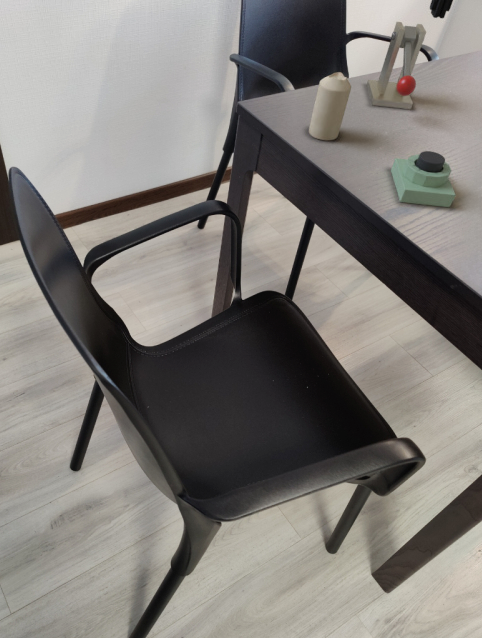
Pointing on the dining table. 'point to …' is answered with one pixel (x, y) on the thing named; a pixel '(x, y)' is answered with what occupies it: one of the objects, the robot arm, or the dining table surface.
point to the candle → (330, 106)
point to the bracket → (382, 89)
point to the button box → (422, 183)
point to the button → (430, 162)
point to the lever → (407, 62)
